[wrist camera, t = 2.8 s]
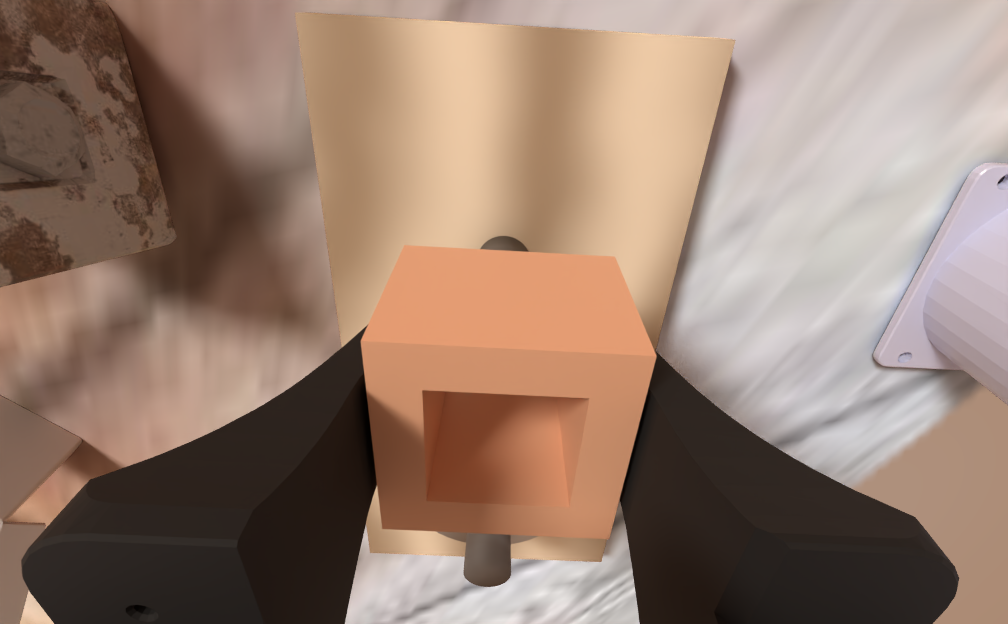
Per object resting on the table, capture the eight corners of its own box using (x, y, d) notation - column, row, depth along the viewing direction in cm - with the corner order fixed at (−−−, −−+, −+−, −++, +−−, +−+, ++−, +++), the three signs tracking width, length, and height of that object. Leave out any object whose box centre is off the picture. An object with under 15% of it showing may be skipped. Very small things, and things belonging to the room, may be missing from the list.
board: (722, 38, 15) (823, 51, 10) (598, 544, 27) (617, 657, 22) (307, 12, 14) (209, 14, 10) (374, 535, 27) (346, 647, 22)
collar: (615, 256, 12) (656, 355, 8) (585, 413, 14) (609, 539, 11) (404, 245, 12) (360, 341, 8) (412, 405, 14) (381, 529, 11)
